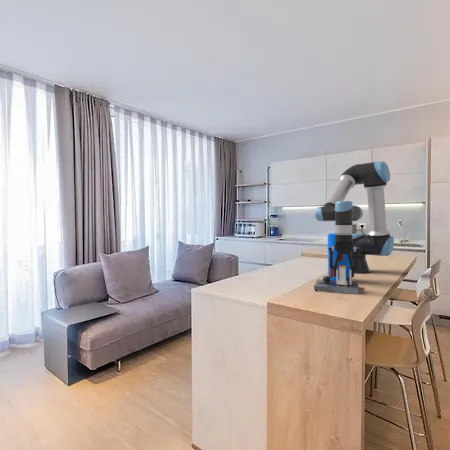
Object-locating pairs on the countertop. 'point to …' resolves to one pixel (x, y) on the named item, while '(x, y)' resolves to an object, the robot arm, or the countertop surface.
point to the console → (336, 286)
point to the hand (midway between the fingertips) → (343, 283)
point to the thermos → (342, 260)
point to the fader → (342, 275)
